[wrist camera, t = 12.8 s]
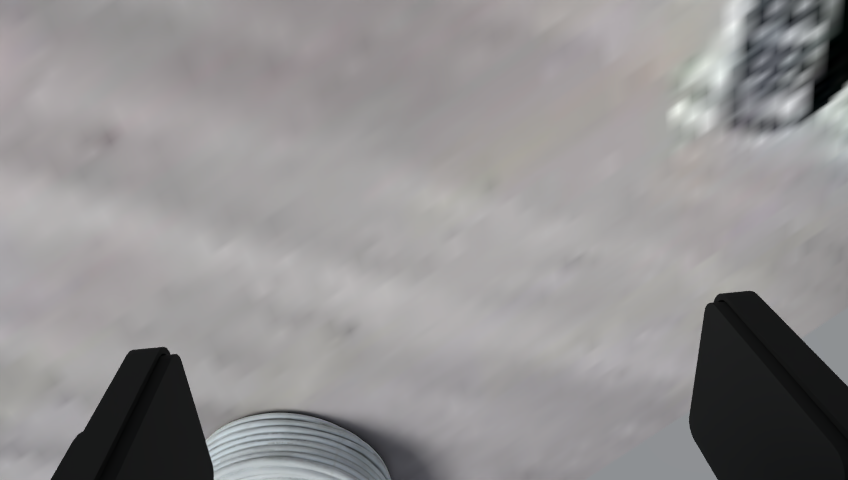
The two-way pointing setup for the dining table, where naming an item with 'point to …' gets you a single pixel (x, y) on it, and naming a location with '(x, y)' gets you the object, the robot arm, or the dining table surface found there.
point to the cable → (291, 450)
